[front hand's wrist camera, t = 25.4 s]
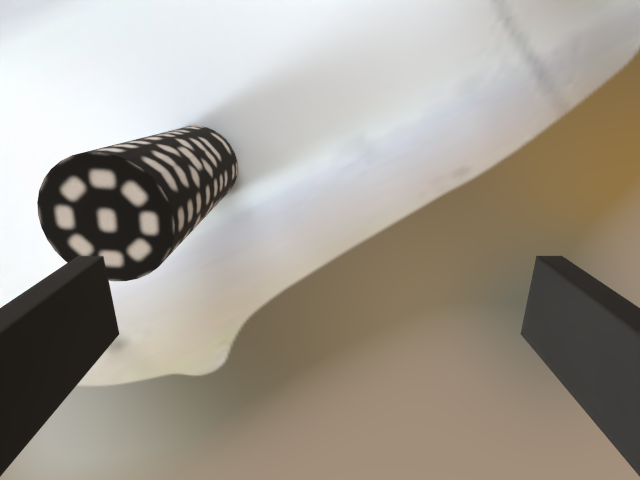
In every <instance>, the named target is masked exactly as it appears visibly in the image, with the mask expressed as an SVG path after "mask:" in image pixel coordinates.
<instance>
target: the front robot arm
mask: <svg viewBox="0 0 640 480" xmlns="http://www.w3.org/2000/svg"><path fill="white" fill-rule="evenodd" d="M118 335H119V330H118V326H117V321H116V316H115V311H114V306H113V301H112V296H111V291H110V286H109V281H108V276H107V271H106V266H105V261H104V256H77V257H76V258H74V259H73V260H71V261H70V262H68V263H67V264H66V265H64V266H63V267H61V268H60V269H58V270H57V271H55V272H54V273H52V274H51V275H49V276H48V277H46V278H45V279H43V280H42V281H40V282H39V283H37V284H36V285H34V286H33V287H31V288H30V289H28V290H27V291H25V292H24V293H22V294H21V295H19V296H18V297H16V298H15V299H13V300H12V301H10V302H9V303H7V304H6V305H4V306H3V307H1V308H0V476H1V475H2V474H3V472H4V471H5V470H6V469H7V468H8V466H9V465H10V464H11V463H12V462H13V460H14V459H15V458H16V457H17V456H18V455H19V453H20V452H21V451H22V450H23V449H24V447H25V446H26V445H27V444H28V443H29V441H30V440H31V439H32V438H33V437H34V435H35V434H36V433H37V432H38V431H39V429H40V428H41V427H42V426H43V425H44V423H45V422H46V421H47V420H48V419H49V417H50V416H51V415H52V414H53V413H54V411H55V410H56V409H57V408H58V407H59V405H60V404H61V403H62V402H63V401H64V399H65V398H66V397H67V396H68V395H69V393H70V392H71V391H72V390H73V389H74V388H75V386H76V385H77V384H78V383H79V382H80V380H81V379H82V378H83V377H84V376H85V374H86V373H87V372H88V371H89V370H90V368H91V367H92V366H93V365H94V364H95V362H96V361H97V360H98V359H99V358H100V356H101V355H102V354H103V353H104V352H105V350H106V349H107V348H108V347H109V346H110V344H111V343H112V342H113V341H114V340H115V338H116V337H117V336H118ZM521 335H522V336H523V337H524V338H525V340H526V341H527V342H528V343H529V344H530V346H531V347H532V348H533V349H534V350H535V352H536V353H537V354H538V355H539V356H540V358H541V359H542V360H543V361H544V362H545V364H546V365H547V366H548V367H549V368H550V370H551V371H552V372H553V373H554V374H555V376H556V377H557V378H558V379H559V380H560V382H561V383H562V384H563V385H564V386H565V388H566V389H567V390H568V391H569V392H570V394H571V395H572V396H573V397H574V398H575V400H576V401H577V402H578V403H579V404H580V405H581V407H582V408H583V409H584V410H585V411H586V413H587V414H588V415H589V416H590V417H591V419H592V420H593V421H594V422H595V423H596V425H597V426H598V427H599V428H600V429H601V431H602V432H603V433H604V434H605V435H606V437H607V438H608V439H609V440H610V441H611V443H612V444H613V445H614V446H615V447H616V449H617V450H618V451H619V452H620V453H621V455H622V456H623V457H624V458H625V459H626V460H627V462H628V463H629V464H630V465H631V466H632V468H633V469H634V470H635V471H636V472H637V474H638V475H639V476H640V308H639V307H637V306H636V305H634V304H633V303H631V302H630V301H628V300H627V299H625V298H624V297H622V296H621V295H619V294H618V293H616V292H615V291H613V290H612V289H610V288H609V287H607V286H606V285H604V284H603V283H601V282H600V281H598V280H597V279H595V278H594V277H592V276H591V275H589V274H588V273H586V272H585V271H583V270H582V269H580V268H579V267H577V266H576V265H574V264H573V263H572V262H570V261H569V260H567V259H566V258H564V257H562V256H536V261H535V266H534V271H533V276H532V281H531V286H530V291H529V296H528V301H527V306H526V311H525V316H524V321H523V326H522V330H521Z"/></svg>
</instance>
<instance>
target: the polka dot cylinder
mask: <svg viewBox="0 0 640 480" xmlns="http://www.w3.org/2000/svg"><path fill="white" fill-rule="evenodd" d="M236 177H237V160H236V157H235V153H234V151H233V149H232V147H231V146H230V145H229V143H228V142H227V141H226V140H225V139H224V138H223V137H222V136H221V135H220V134H218V133H217V132H215V131H214V130H211V129H209V128H206V127H201V126H189V127H185V128H181V129H177V130H173V131H169V132H165V133H160V134H156V135H152V136H148V137H144V138H140V139H136V140H132V141H128V142H124V143H120V144H116V145H112V146H108V147H104V148H100V149H96V150H92V151H88V152H84V153H80V154H76V155H72V156H70V157H68V158H66V159H64V160H62V161H60V162H59V163H58V164H57V165H56V166H54V167H53V168H52V169H51V170H50V171H49V173H48V174H47V176H46V177H45V178H44V180H43V183H42V185H41V188H40V190H39V196H38V216H39V219H40V223H41V227H42V229H43V231H44V233H45V235H46V238H47V240H48V241H49V242H50V244H51V245H52V247H53V248H54V249H55V251H56V252H57V253H58V254H59V255H60V256H61V257H62V258H63V259H64V260H65V261H66V262H70V261H71V260H73V259H74V258H76V257H77V256H104V261H105V266H106V271H107V276H108V280H110V281H128V280H133V279H138V278H140V277H143V276H145V275H147V274H149V273H151V272H152V271H153V270H155V269H156V268H158V267H159V266H160V265H161V264H162V262H163V261H164V260H165V259H166V258H167V257H168V256H169V255H170V254H171V253H172V252H173V251H174V250H175V249H176V247H177V246H178V245H179V244H180V243H181V242H182V241H183V240H184V239H185V238H186V237H187V236H188V235H189V234H190V232H191V231H192V230H193V229H194V228H195V227H196V226H197V225H198V224H199V223H200V222H201V221H202V220H203V219H204V217H205V216H206V215H207V214H208V213H209V212H210V211H211V210H212V209H213V208H214V207H215V206H216V205H217V204H218V202H219V201H220V200H221V199H222V198H223V197H224V196H225V195H226V194H227V193H228V192H229V191H230V189H231V188H232V186H233V185H234V183H235V180H236Z"/></svg>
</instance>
